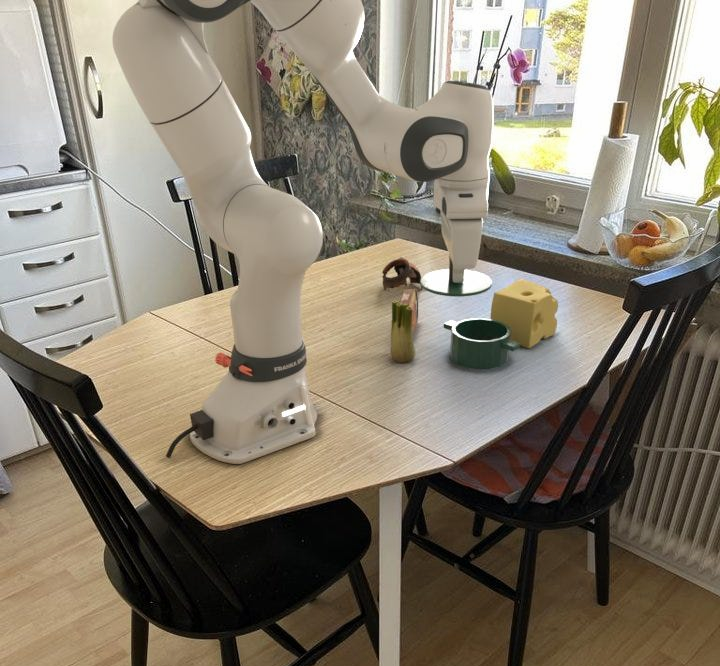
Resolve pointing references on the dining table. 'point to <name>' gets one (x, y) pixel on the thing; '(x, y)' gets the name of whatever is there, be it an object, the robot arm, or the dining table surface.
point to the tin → (411, 304)
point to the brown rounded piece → (401, 274)
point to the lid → (444, 284)
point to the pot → (480, 343)
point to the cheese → (526, 311)
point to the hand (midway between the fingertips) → (455, 277)
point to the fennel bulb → (402, 333)
